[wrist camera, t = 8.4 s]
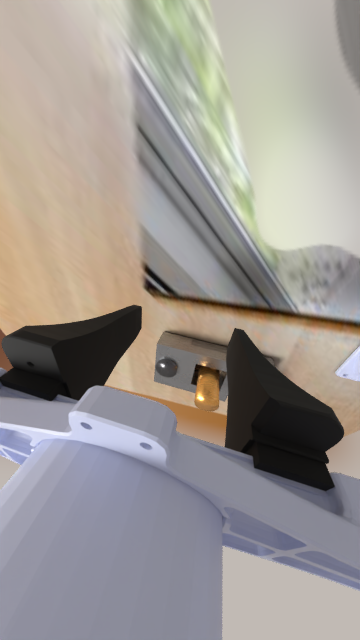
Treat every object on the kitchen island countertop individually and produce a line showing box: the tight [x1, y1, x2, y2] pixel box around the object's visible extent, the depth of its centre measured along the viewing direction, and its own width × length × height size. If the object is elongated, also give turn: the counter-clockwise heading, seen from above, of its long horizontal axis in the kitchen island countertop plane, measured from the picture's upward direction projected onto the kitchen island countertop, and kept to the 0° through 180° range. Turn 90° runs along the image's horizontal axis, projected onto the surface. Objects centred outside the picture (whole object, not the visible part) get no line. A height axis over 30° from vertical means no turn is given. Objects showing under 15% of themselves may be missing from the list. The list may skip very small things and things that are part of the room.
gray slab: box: [154, 332, 275, 401], centre depth 25 cm, size 16×8×4 cm, turn 82°
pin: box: [194, 365, 219, 411], centre depth 23 cm, size 3×3×7 cm
